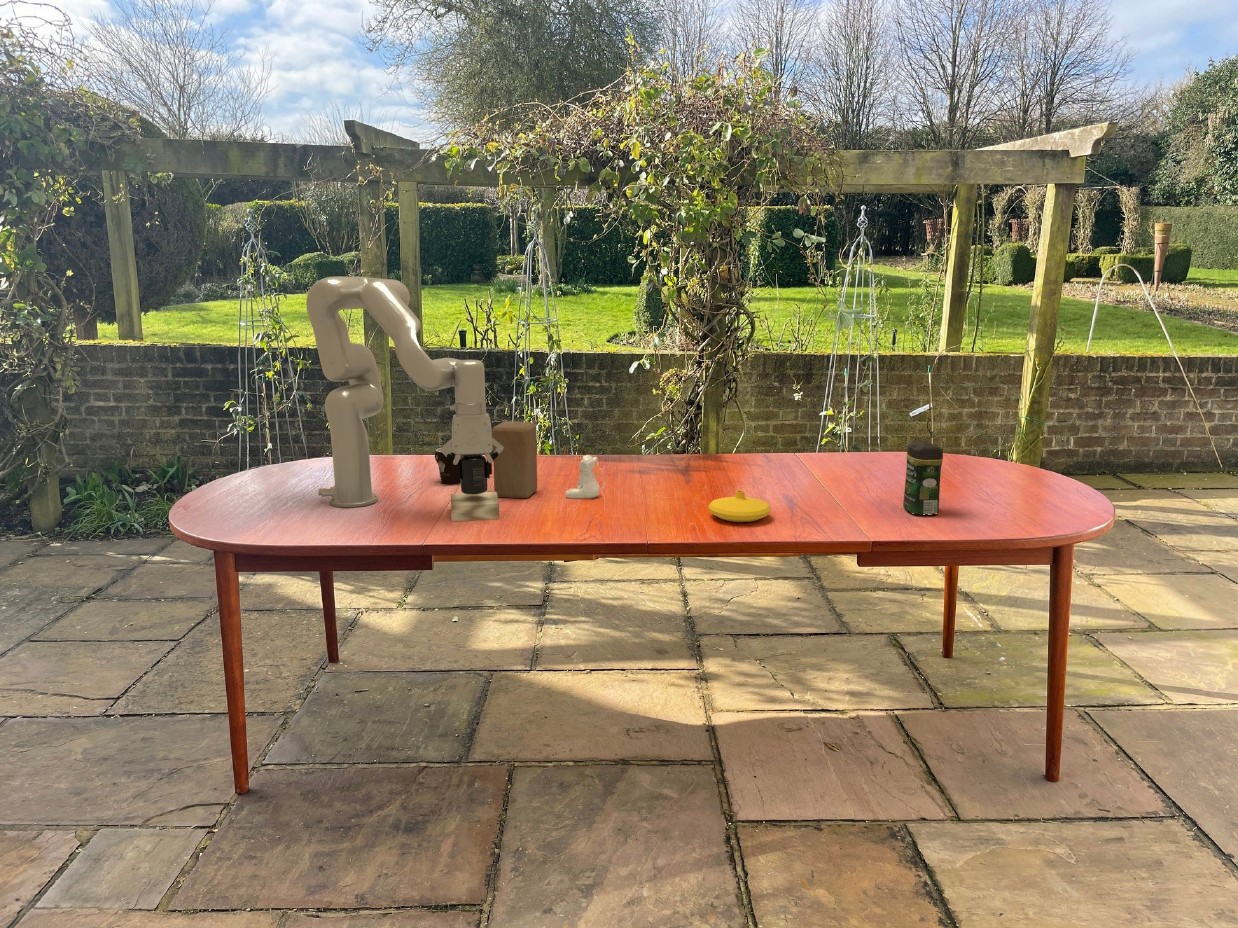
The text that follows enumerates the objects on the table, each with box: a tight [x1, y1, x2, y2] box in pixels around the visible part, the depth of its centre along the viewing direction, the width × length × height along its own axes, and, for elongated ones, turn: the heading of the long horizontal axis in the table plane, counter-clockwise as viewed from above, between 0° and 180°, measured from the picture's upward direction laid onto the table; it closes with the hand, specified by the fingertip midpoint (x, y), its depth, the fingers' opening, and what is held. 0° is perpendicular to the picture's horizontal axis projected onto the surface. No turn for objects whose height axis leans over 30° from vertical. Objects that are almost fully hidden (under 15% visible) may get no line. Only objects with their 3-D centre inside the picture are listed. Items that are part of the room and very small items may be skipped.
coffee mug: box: [434, 446, 464, 486], centre depth 256 cm, size 12×9×10 cm
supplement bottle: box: [459, 454, 489, 494], centre depth 220 cm, size 7×7×12 cm
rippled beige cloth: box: [450, 491, 501, 522], centre depth 222 cm, size 12×12×4 cm
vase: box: [708, 490, 772, 523], centre depth 218 cm, size 16×16×7 cm
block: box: [491, 421, 538, 499], centre depth 240 cm, size 10×10×20 cm
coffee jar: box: [902, 440, 944, 516], centre depth 221 cm, size 10×8×19 cm
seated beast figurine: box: [565, 454, 601, 500], centre depth 238 cm, size 10×9×12 cm
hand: (473, 477), depth 220 cm, fingers closed on supplement bottle, 6 cm apart
